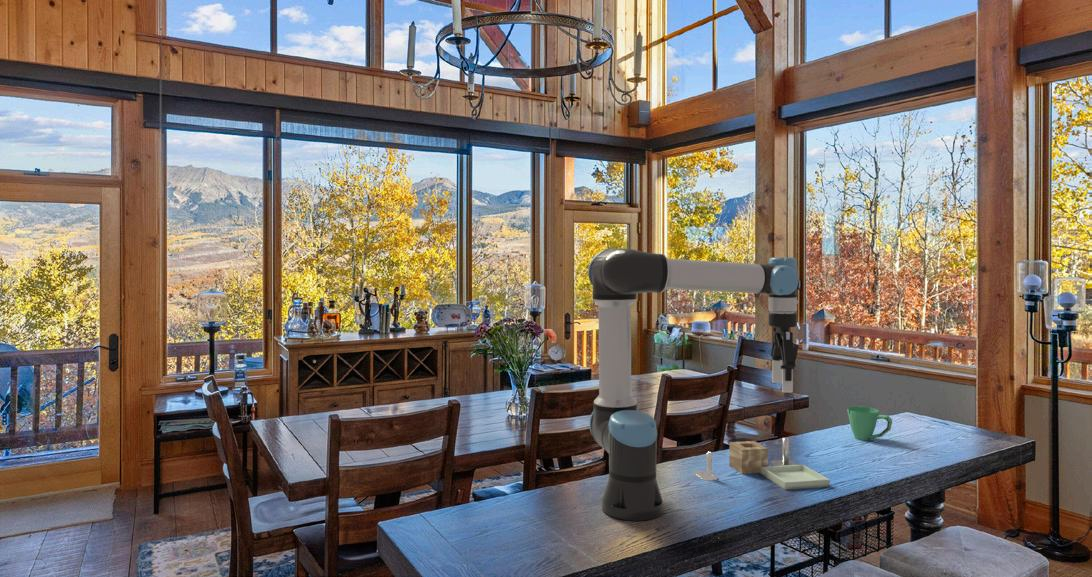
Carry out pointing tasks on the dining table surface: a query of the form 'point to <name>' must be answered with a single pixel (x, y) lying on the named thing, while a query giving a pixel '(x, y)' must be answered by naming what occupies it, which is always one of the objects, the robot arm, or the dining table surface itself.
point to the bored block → (748, 456)
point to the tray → (795, 477)
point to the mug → (866, 422)
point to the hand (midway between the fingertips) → (782, 387)
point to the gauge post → (784, 455)
